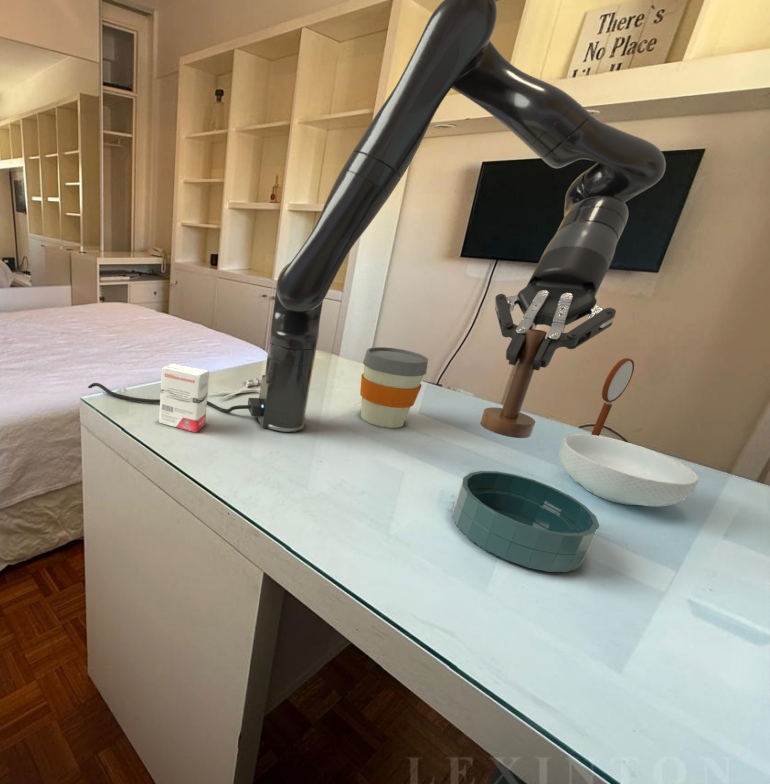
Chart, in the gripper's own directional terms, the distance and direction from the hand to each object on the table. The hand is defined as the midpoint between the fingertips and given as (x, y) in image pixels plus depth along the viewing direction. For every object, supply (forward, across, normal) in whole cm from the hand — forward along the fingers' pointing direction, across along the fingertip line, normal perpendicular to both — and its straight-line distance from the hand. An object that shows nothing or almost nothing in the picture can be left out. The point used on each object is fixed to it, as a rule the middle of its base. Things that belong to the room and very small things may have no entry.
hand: (524, 363), depth 59 cm
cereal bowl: (-3, +13, +37) cm, 40 cm away
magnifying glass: (-14, +9, +49) cm, 51 cm away
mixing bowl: (+17, +5, +17) cm, 25 cm away
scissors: (+8, -55, +26) cm, 61 cm away
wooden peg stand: (+6, 0, +8) cm, 10 cm away
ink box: (+26, -50, +8) cm, 57 cm away
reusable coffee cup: (-1, -25, +36) cm, 44 cm away
